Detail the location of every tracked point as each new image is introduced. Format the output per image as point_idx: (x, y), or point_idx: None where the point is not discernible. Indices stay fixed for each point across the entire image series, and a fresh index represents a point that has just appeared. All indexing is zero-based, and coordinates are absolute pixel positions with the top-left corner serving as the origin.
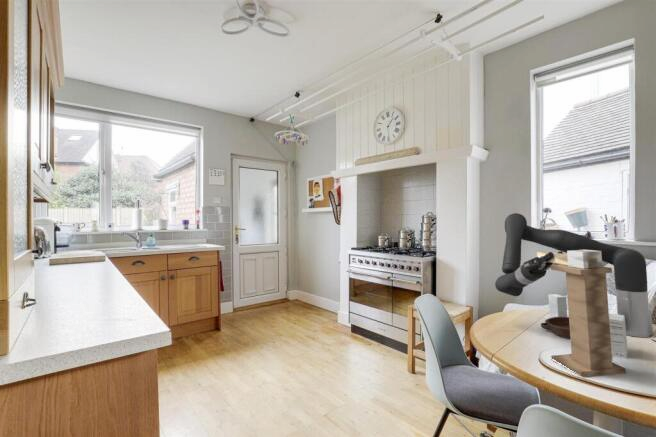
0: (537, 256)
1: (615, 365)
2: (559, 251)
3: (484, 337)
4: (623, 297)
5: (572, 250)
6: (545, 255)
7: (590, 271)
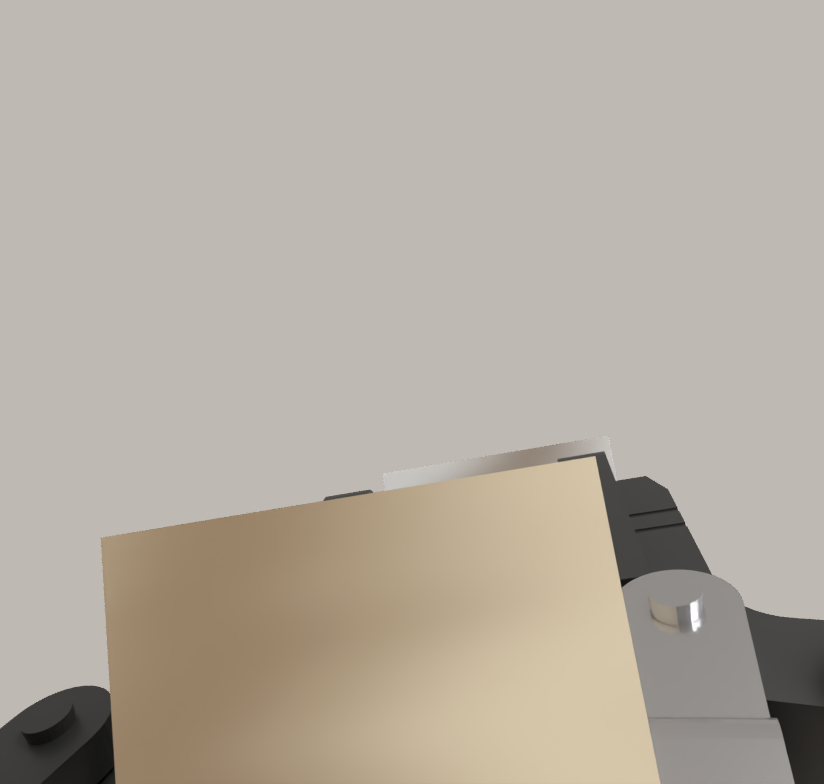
0: (649, 751)
1: None
2: (370, 491)
3: None
4: None
5: (542, 447)
6: (686, 529)
7: None
